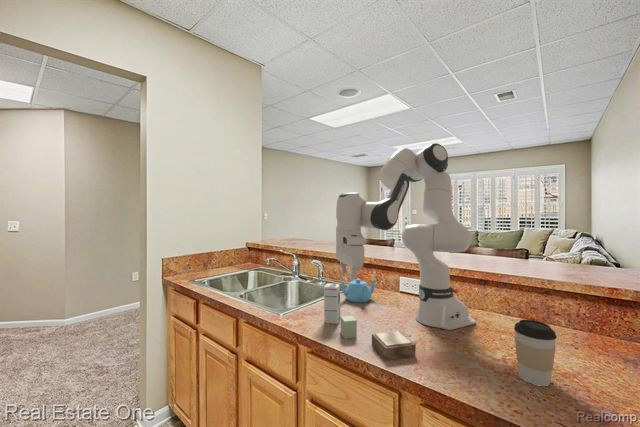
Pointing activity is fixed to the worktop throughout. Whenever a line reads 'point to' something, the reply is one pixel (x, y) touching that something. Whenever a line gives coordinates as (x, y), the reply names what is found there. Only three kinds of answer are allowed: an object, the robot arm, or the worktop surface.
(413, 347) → the plinth
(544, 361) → the coffee cup
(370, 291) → the teapot
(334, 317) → the syrup box
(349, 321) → the sage block
